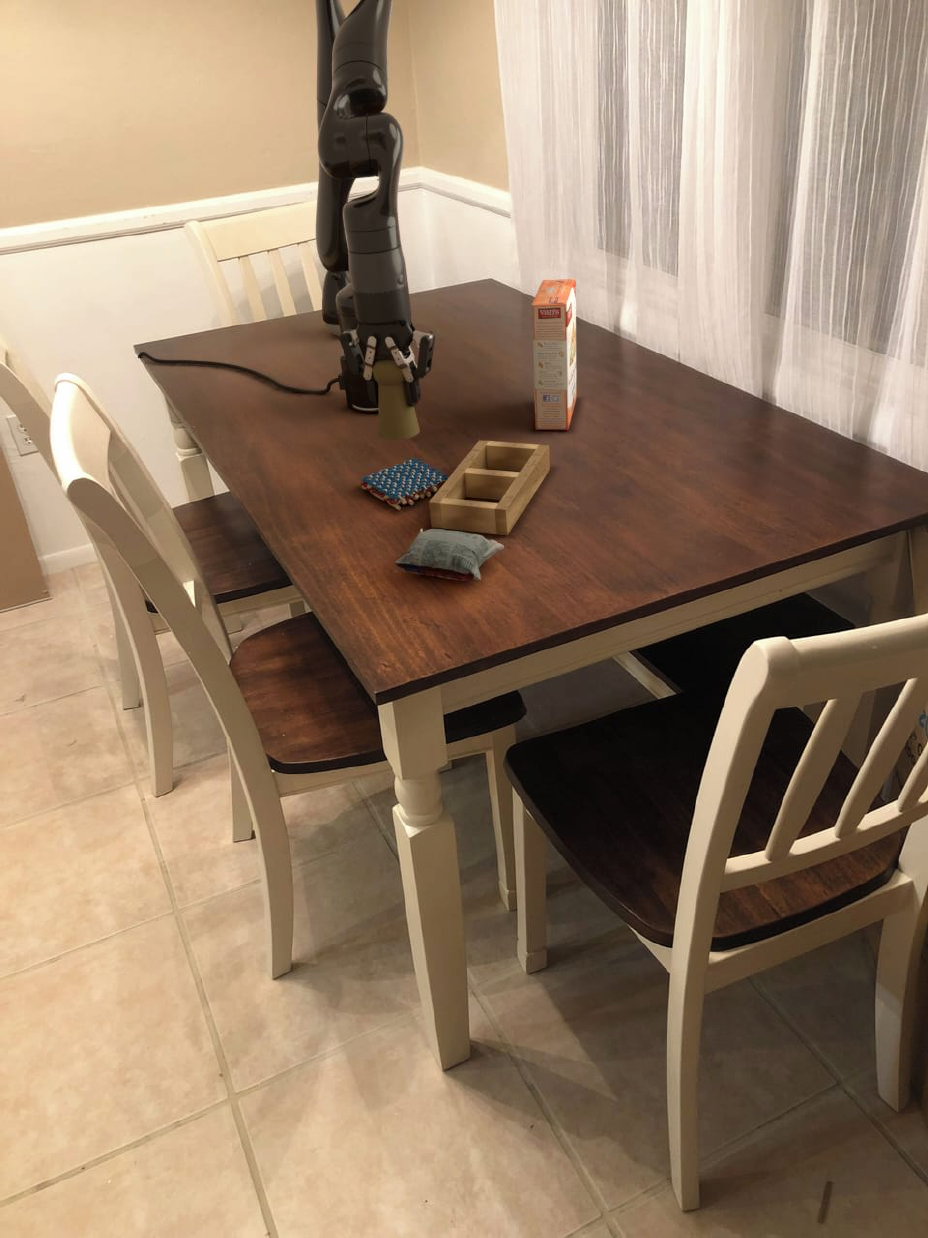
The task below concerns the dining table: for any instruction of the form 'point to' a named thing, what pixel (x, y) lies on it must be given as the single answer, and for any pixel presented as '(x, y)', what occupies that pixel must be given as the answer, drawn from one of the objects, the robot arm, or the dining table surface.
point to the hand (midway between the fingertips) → (395, 403)
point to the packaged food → (448, 554)
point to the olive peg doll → (393, 402)
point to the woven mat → (404, 482)
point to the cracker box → (554, 353)
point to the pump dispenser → (333, 299)
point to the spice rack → (490, 487)
